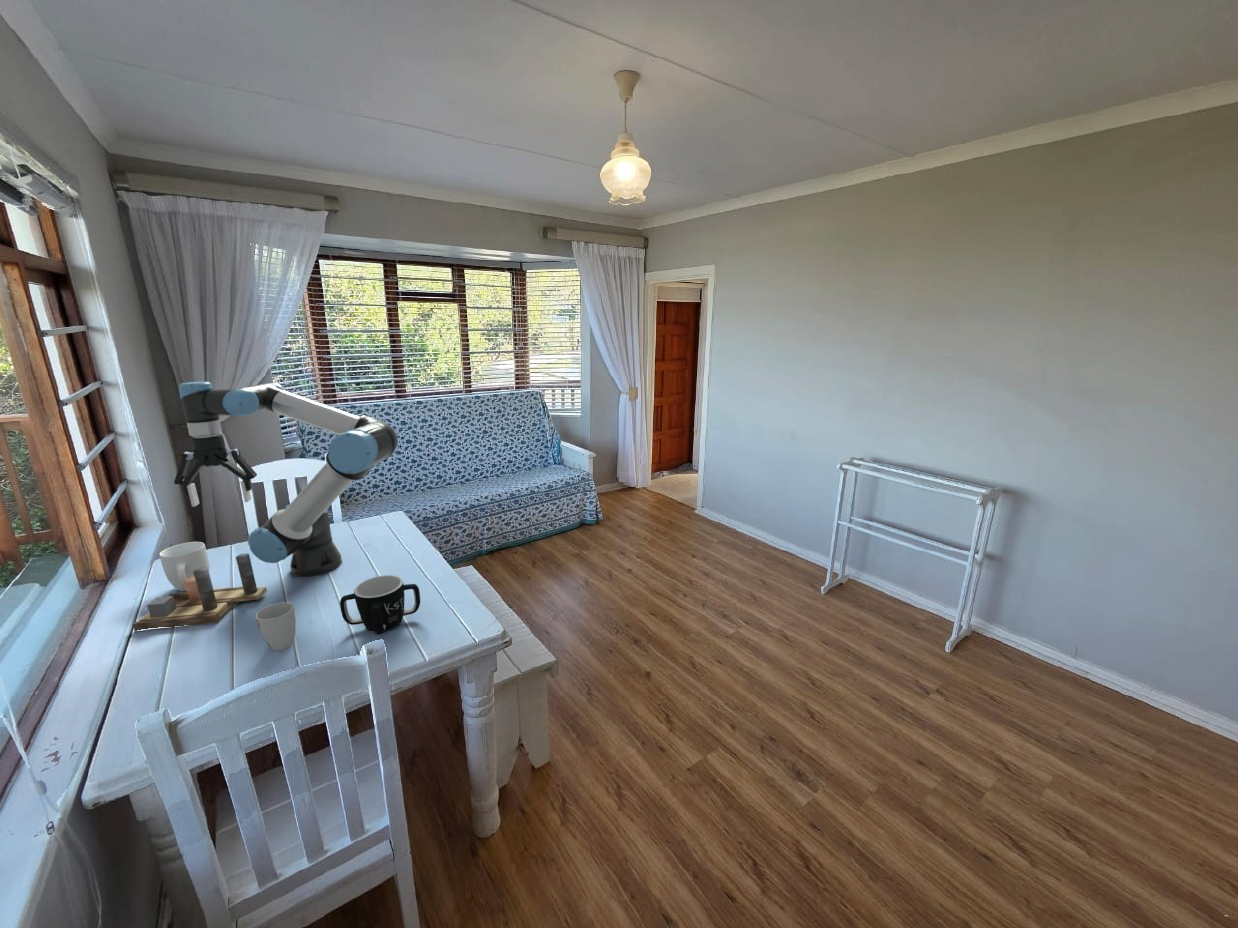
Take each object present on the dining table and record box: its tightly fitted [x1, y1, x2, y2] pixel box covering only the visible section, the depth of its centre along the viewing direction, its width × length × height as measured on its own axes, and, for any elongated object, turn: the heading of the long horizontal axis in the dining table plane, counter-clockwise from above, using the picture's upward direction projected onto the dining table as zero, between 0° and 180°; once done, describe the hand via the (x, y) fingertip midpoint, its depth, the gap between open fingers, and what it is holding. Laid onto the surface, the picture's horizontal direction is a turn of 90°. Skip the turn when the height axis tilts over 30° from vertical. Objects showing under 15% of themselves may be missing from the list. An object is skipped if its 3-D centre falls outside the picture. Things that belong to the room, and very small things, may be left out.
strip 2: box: [185, 552, 267, 604], centre depth 148 cm, size 19×5×13 cm, turn 102°
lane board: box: [131, 586, 243, 632], centre depth 145 cm, size 20×16×2 cm
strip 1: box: [138, 567, 228, 622], centre depth 139 cm, size 19×5×13 cm, turn 102°
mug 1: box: [159, 541, 211, 592], centre depth 156 cm, size 15×11×13 cm
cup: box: [255, 601, 297, 652], centre depth 128 cm, size 8×8×10 cm
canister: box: [184, 576, 201, 602], centre depth 147 cm, size 5×5×6 cm
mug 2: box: [339, 574, 421, 635], centre depth 136 cm, size 16×16×12 cm
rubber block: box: [146, 595, 177, 618], centre depth 139 cm, size 4×4×4 cm
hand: (222, 502), depth 152 cm, fingers open, 13 cm apart
